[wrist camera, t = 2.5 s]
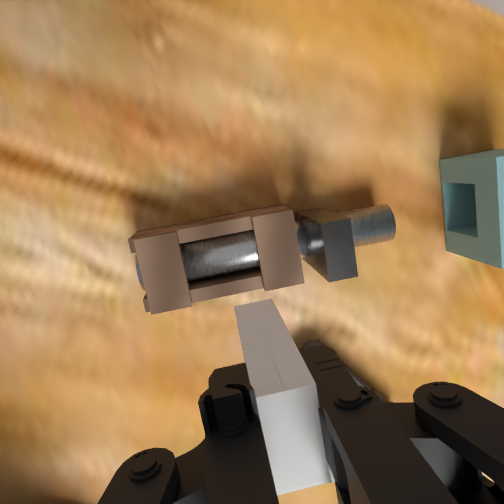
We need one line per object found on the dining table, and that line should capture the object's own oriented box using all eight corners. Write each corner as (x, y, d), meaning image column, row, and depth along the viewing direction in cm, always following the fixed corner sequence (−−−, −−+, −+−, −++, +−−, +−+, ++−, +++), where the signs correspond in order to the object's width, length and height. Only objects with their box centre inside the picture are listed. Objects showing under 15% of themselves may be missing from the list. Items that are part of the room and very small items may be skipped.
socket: (446, 250, 37) (501, 268, 30) (439, 160, 35) (496, 157, 28) (498, 239, 37) (565, 255, 30) (494, 149, 35) (563, 144, 29)
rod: (149, 289, 34) (134, 322, 27) (137, 242, 33) (119, 263, 26) (382, 242, 35) (428, 261, 28) (376, 196, 35) (423, 203, 27)
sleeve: (152, 297, 35) (144, 316, 30) (136, 232, 33) (126, 241, 29) (291, 268, 35) (304, 283, 31) (281, 204, 34) (292, 209, 30)
